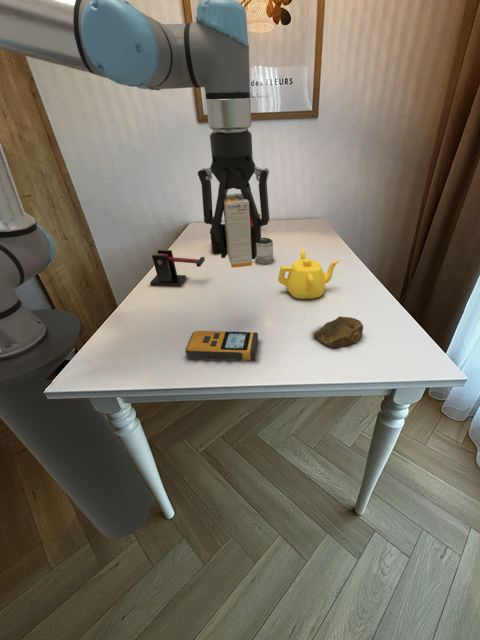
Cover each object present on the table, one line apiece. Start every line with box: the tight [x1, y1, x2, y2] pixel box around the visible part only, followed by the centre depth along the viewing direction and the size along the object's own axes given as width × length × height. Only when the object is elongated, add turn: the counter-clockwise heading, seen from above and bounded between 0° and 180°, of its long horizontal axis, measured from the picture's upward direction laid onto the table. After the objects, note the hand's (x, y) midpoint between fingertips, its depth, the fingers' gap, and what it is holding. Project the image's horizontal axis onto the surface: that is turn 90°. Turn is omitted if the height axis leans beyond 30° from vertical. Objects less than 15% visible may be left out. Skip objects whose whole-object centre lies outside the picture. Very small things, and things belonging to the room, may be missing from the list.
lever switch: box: [157, 253, 206, 268], centre depth 96 cm, size 14×5×2 cm, turn 82°
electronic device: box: [185, 330, 259, 362], centre depth 71 cm, size 8×16×3 cm, turn 85°
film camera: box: [209, 225, 227, 255], centre depth 122 cm, size 15×10×9 cm, turn 1°
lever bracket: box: [149, 249, 187, 288], centre depth 99 cm, size 10×6×10 cm, turn 82°
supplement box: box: [223, 192, 253, 268], centre depth 66 cm, size 8×5×13 cm, turn 11°
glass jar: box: [255, 237, 274, 265], centre depth 110 cm, size 6×6×8 cm
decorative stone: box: [312, 316, 364, 349], centre depth 74 cm, size 10×9×4 cm
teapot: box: [277, 248, 341, 300], centre depth 91 cm, size 14×13×10 cm
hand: (239, 256), depth 70 cm, fingers closed on supplement box, 6 cm apart
